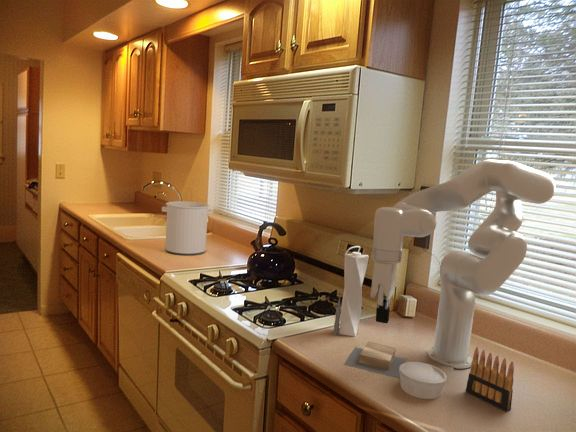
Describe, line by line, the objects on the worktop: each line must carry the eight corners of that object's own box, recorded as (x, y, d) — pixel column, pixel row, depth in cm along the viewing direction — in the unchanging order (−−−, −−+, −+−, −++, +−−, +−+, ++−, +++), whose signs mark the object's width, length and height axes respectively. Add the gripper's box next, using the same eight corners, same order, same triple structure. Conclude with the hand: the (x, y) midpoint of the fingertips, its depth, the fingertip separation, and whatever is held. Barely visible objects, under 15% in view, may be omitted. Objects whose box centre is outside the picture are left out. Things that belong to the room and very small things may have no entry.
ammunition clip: (465, 391, 119) (471, 346, 117) (469, 390, 120) (475, 345, 118) (507, 412, 110) (514, 363, 109) (510, 410, 112) (518, 362, 110)
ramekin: (453, 401, 114) (456, 381, 113) (412, 405, 110) (415, 384, 110) (427, 379, 124) (429, 360, 123) (389, 382, 121) (391, 362, 120)
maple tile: (359, 362, 129) (367, 349, 138) (388, 369, 126) (394, 355, 135) (360, 354, 129) (368, 341, 138) (389, 361, 126) (395, 347, 135)
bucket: (156, 254, 233) (158, 205, 229) (163, 245, 254) (165, 199, 251) (209, 257, 235) (211, 208, 232) (212, 247, 257) (214, 203, 253)
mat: (355, 348, 139) (355, 347, 139) (406, 361, 134) (407, 358, 134) (343, 366, 127) (343, 364, 127) (399, 380, 122) (399, 378, 122)
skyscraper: (337, 327, 155) (345, 243, 151) (361, 331, 153) (370, 246, 149) (332, 336, 147) (341, 248, 143) (358, 341, 145) (367, 252, 141)
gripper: (378, 247, 132) (374, 310, 135) (366, 259, 118) (361, 328, 121) (405, 250, 129) (400, 314, 132) (396, 263, 116) (391, 334, 119)
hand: (382, 321), depth 127 cm, fingers closed
